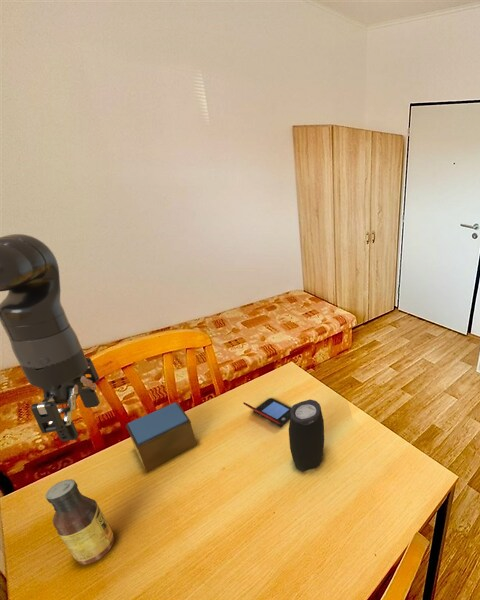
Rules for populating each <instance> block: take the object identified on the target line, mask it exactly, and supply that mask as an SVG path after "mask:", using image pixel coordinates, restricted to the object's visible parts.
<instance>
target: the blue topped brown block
mask: <svg viewBox="0 0 480 600" xmlns="http://www.w3.org/2000/svg"><path fill="white" fill-rule="evenodd" d="M176 404H177V405H178V407H179V408H180V409H181V411H182V412H183V414H184V415H185V416H186V418H187V419H188V421H186V422H184V423H182V424H180V425H178V426H176V427H174V428H172V429H170V430H168V431H166V432H164V433H162V434H160V435H158V436H155V437H153V438H151V439H149V440H147V441H145V442H143V443H141V444H139V445H138V443H137V441H136V439H135V437H134V435H133V433H132V431H131V429H130V427H129V425H128V423H127V424H125V428H126V429H127V431H128V435H129V437H130V440H131V442H132V445H133V447H134V449H135V452H136V454H137V456H138V458H139V460H140V462H141V464H142V466H143V468H144V471H145V472H146V473H149V472H151V471H153V470H155V469H157V468H158V467H160V466H162V465H164V464H166V463H167V462H169V461H171V460H174V459H175V458H176V457H179V456H181V455H182V454H184V453H186V452H188V451H189V450H191V449H193V448H195V447H197V442H196V439H195V435H194V434H195V433H194V430H193V426H192V420H191V419H190V418H189V417H188V415H187V414H186V412H185V411H184V409H183V408H182V407H181V406H180V404H179V403H178V402H176Z"/></svg>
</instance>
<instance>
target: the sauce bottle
mask: <svg viewBox="0 0 480 600" xmlns="http://www.w3.org/2000/svg"><path fill="white" fill-rule="evenodd" d="M78 486H79V485H78V483H77V482H76V481H75V479H73V478H70V479H69V478H67V479H64V480H61V481H59V482H57V483H55V484H53V485H52V486H51V487H50V488H49V489H48V490H47V491H46V493H45V499H46V500H47V502H48V503H49V504H51V506H52V507H53V510H54V511H55V512H54V513H53V517H52V525H53V527H54V528H55V530H56V531H57V532H56V533H57V534H58V537H59V538H60V539H61V540H62V542H63V544H64V545H65V547H66V549H68V551H69V553H70V554H71V556H72V557H73V559H74V560H75V561H76V562H77V563H78V564H80V565H84V566H85V565H91V564H94V563H95V562H98V561H99V560H101V559H102V558H104V556H106V555H107V554H108V553H109V552H110V550H111V549H112V547H113V545H114V541H115V538H114V533H113V530H112V529H111V527H110V525H109V523H108V521H107V519H106V517H105V515H104V513H103V512H102V509H101V508H100V506H99V504H98V503H97V501H96V500H95V499H93V498H90V497H88V496H86V495H84V494H82V492H80V490H79V488H78Z"/></svg>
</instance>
